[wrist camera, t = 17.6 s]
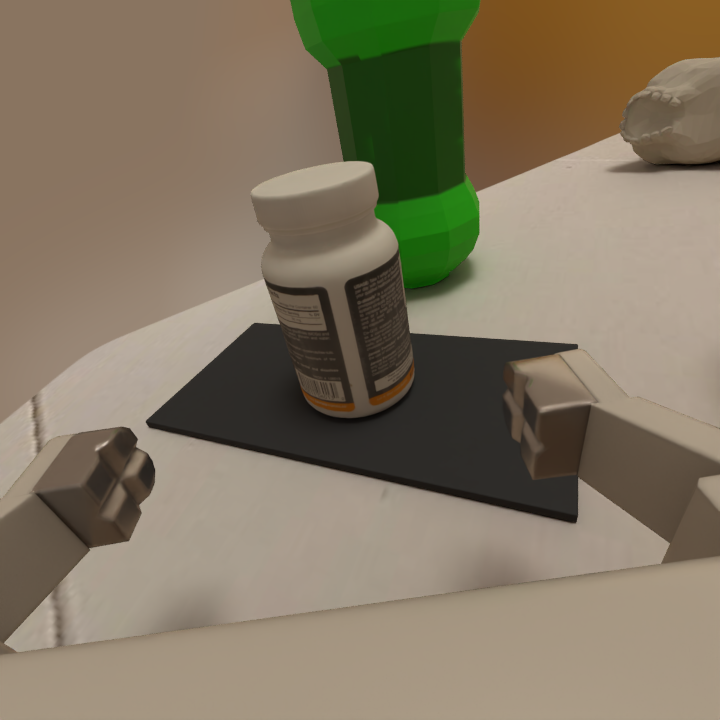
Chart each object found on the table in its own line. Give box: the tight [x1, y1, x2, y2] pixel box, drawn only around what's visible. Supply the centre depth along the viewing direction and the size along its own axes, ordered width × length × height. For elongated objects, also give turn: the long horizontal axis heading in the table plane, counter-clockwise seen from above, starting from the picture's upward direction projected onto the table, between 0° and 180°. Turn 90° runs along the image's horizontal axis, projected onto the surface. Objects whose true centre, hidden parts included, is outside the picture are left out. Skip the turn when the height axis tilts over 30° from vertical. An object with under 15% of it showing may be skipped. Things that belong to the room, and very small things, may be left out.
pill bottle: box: [251, 161, 414, 418], centre depth 18 cm, size 6×6×10 cm
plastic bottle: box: [290, 0, 480, 289], centre depth 25 cm, size 10×10×25 cm
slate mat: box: [146, 323, 578, 522], centre depth 21 cm, size 20×10×1 cm, turn 67°
